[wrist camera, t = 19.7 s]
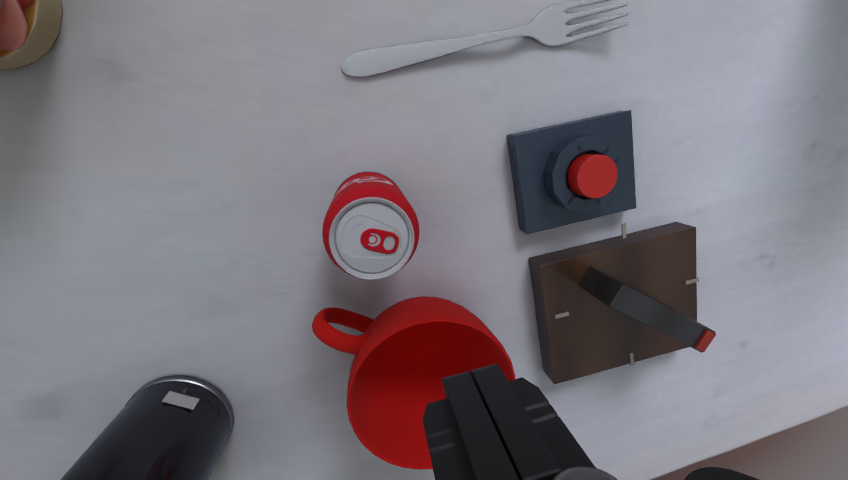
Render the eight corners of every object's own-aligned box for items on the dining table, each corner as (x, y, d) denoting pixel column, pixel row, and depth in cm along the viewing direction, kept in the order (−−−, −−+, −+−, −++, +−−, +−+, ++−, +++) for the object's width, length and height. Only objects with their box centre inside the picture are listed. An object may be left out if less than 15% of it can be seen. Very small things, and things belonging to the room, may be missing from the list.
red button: (568, 199, 35) (579, 202, 34) (564, 158, 34) (575, 159, 33) (606, 190, 36) (619, 193, 34) (604, 149, 35) (616, 150, 33)
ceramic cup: (360, 226, 36) (360, 259, 27) (504, 313, 41) (549, 367, 31) (287, 340, 38) (262, 410, 28) (434, 412, 42) (455, 492, 33)
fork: (336, 47, 32) (335, 42, 31) (615, -6, 34) (628, -14, 33) (346, 89, 33) (346, 86, 31) (617, 34, 35) (630, 29, 34)
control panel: (543, 371, 43) (554, 386, 40) (525, 237, 39) (537, 245, 36) (680, 334, 45) (699, 346, 42) (677, 201, 40) (698, 206, 38)
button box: (519, 230, 39) (534, 239, 35) (506, 135, 36) (521, 135, 33) (625, 205, 40) (649, 211, 36) (619, 111, 37) (645, 108, 34)
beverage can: (341, 163, 35) (331, 177, 23) (410, 180, 36) (434, 201, 24) (327, 232, 36) (310, 277, 24) (394, 246, 37) (409, 296, 26)
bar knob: (578, 285, 38) (610, 308, 33) (590, 265, 38) (625, 285, 33) (662, 327, 41) (704, 354, 36) (674, 309, 40) (718, 333, 35)
